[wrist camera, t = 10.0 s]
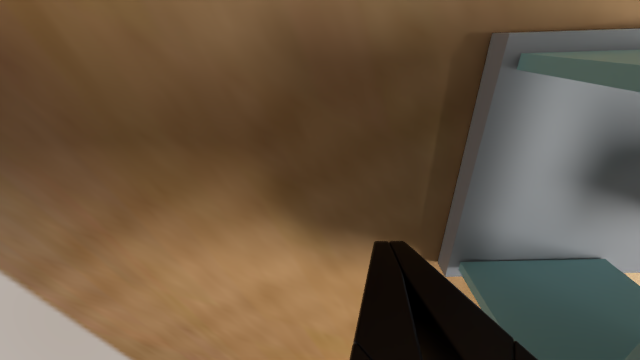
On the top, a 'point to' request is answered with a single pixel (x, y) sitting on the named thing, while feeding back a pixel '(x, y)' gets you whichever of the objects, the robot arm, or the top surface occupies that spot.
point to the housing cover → (566, 275)
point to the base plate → (548, 161)
